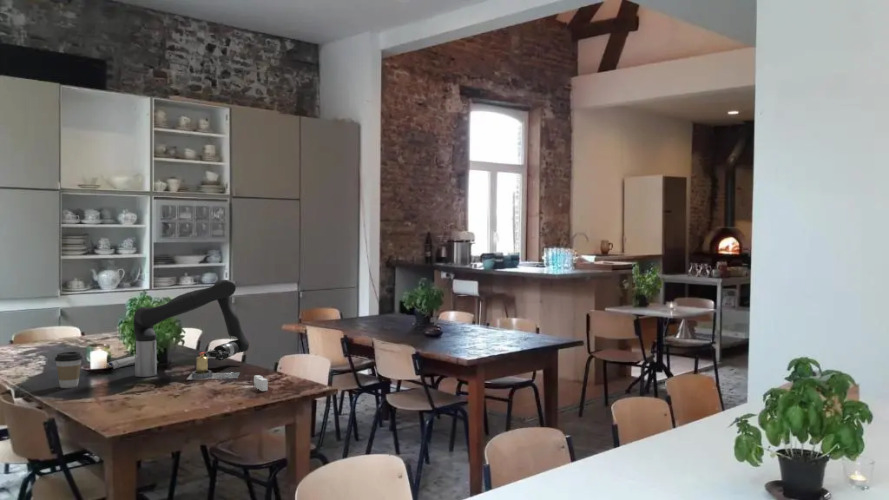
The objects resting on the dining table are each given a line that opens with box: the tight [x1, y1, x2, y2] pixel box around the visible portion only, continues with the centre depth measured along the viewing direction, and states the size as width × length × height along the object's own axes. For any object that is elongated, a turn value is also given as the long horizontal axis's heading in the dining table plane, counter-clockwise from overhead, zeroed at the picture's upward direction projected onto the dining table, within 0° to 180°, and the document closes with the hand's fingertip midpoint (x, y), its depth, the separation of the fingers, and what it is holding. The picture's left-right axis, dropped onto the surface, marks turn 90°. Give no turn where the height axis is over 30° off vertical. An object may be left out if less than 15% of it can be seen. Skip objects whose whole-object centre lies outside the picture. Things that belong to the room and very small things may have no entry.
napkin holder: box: [253, 375, 269, 392], centre depth 329 cm, size 15×11×6 cm
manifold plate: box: [186, 369, 241, 380], centre depth 347 cm, size 23×13×4 cm, turn 100°
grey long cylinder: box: [107, 355, 135, 370], centre depth 379 cm, size 5×7×25 cm
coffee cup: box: [54, 351, 83, 389], centre depth 329 cm, size 11×11×15 cm
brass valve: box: [196, 351, 209, 373], centre depth 346 cm, size 5×5×11 cm
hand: (207, 357), depth 352 cm, fingers open, 8 cm apart
